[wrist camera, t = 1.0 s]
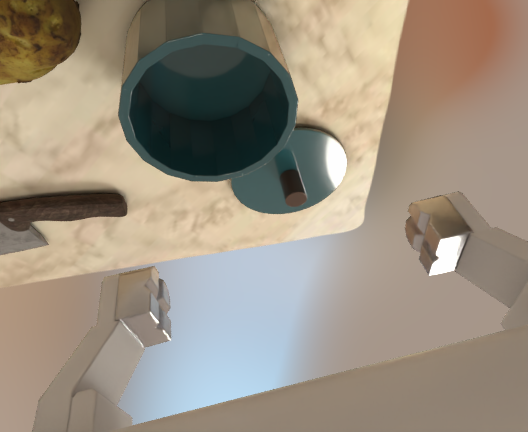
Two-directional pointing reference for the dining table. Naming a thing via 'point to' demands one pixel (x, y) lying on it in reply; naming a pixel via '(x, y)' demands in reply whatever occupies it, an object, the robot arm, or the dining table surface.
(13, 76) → the potato
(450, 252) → the robot arm
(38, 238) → the cleaver
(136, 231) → the dining table surface
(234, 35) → the pot
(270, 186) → the lid
